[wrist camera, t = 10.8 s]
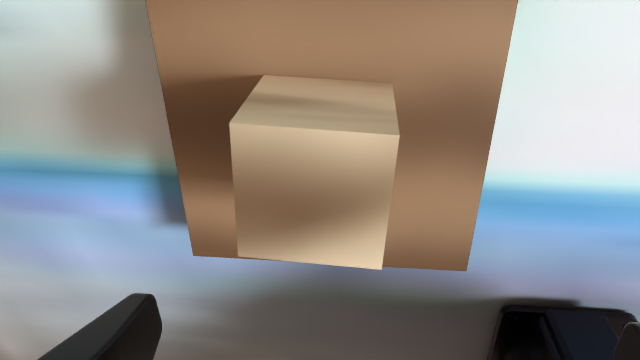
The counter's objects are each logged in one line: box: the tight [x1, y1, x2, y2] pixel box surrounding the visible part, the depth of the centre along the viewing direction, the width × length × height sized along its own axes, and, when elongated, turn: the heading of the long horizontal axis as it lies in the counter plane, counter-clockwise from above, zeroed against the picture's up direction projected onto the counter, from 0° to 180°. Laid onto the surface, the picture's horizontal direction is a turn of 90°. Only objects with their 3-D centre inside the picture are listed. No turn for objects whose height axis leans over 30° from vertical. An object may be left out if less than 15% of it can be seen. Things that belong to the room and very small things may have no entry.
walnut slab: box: [146, 0, 518, 271], centre depth 18 cm, size 12×12×3 cm
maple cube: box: [229, 75, 400, 270], centre depth 15 cm, size 4×4×4 cm
